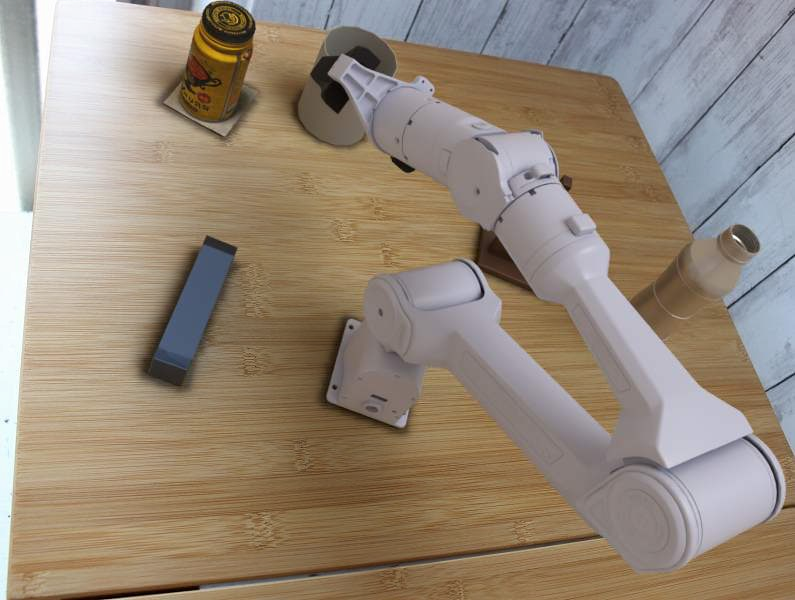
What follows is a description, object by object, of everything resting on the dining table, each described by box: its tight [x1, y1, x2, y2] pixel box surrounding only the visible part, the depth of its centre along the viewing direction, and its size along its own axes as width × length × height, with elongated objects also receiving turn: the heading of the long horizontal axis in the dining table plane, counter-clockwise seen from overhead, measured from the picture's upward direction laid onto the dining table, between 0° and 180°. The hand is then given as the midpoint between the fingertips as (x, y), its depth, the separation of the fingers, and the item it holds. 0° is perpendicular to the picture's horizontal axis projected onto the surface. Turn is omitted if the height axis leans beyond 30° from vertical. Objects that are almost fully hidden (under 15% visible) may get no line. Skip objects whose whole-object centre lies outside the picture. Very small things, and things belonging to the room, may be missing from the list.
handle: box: [147, 234, 238, 387], centre depth 75 cm, size 14×3×3 cm, turn 169°
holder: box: [476, 174, 573, 293], centre depth 96 cm, size 16×9×6 cm, turn 169°
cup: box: [297, 25, 399, 146], centre depth 93 cm, size 8×8×10 cm
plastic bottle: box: [626, 222, 762, 344], centre depth 88 cm, size 6×7×20 cm
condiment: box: [162, 0, 259, 138], centre depth 87 cm, size 7×8×12 cm
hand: (346, 92), depth 76 cm, fingers open, 7 cm apart
